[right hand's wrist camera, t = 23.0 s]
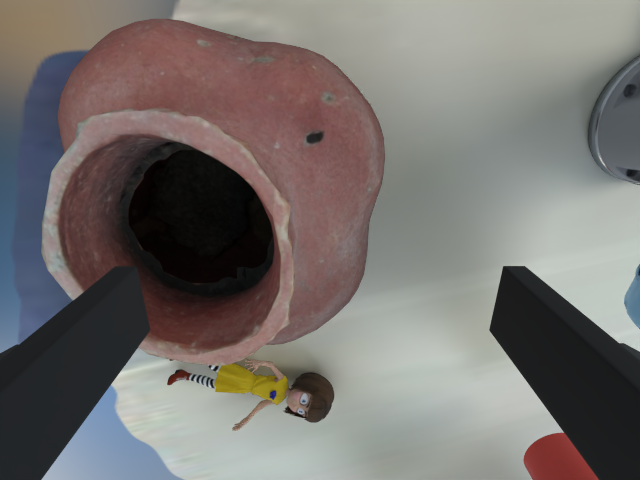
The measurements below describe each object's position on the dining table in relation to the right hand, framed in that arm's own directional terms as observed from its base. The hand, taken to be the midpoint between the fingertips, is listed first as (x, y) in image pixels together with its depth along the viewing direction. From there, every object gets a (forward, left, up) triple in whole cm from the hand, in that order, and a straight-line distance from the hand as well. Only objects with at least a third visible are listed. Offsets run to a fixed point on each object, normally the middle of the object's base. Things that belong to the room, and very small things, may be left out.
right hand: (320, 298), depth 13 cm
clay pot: (-1, -9, -33) cm, 34 cm away
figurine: (+28, -21, -33) cm, 48 cm away
